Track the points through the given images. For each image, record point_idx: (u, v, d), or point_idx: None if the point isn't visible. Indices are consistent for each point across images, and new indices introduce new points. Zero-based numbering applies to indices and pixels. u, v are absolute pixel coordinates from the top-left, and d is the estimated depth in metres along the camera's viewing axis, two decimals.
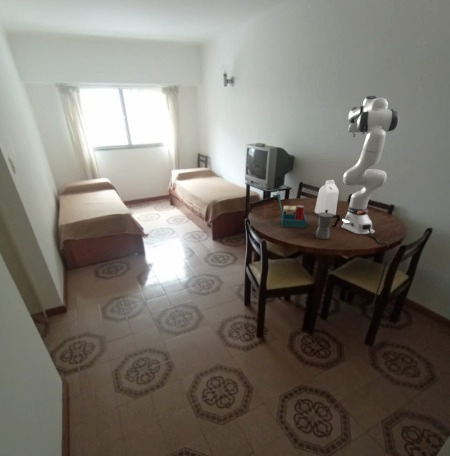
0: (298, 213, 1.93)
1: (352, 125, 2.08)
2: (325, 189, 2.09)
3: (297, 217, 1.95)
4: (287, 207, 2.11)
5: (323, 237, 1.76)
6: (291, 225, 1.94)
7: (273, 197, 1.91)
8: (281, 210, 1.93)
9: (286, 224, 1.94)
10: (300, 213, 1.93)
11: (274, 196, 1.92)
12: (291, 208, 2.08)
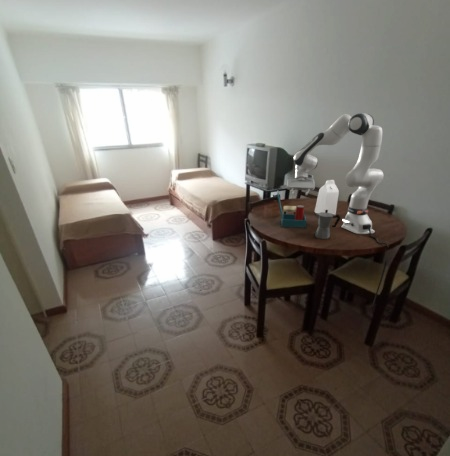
0: (298, 213, 1.93)
1: (290, 180, 2.03)
2: (325, 189, 2.09)
3: (297, 217, 1.95)
4: (287, 207, 2.11)
5: (323, 237, 1.76)
6: (291, 225, 1.94)
7: (273, 197, 1.91)
8: (281, 210, 1.93)
9: (286, 224, 1.94)
10: (300, 213, 1.93)
11: (274, 196, 1.92)
12: (291, 208, 2.08)
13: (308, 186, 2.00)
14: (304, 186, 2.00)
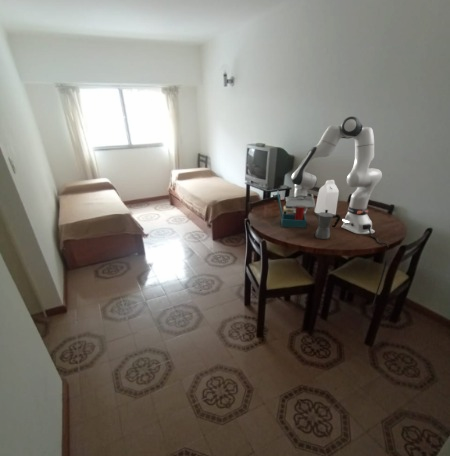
0: (298, 213, 1.93)
1: (289, 199, 1.97)
2: (325, 189, 2.09)
3: (297, 217, 1.95)
4: None
5: (323, 237, 1.76)
6: (291, 225, 1.94)
7: (273, 197, 1.91)
8: (281, 210, 1.93)
9: (286, 224, 1.94)
10: (300, 213, 1.93)
11: (274, 196, 1.92)
12: None
13: (308, 205, 1.94)
14: (303, 205, 1.94)
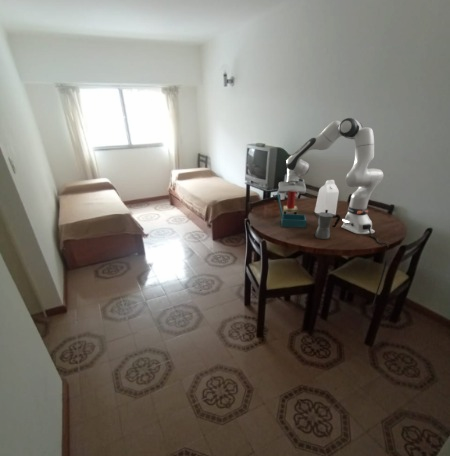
0: (290, 196, 2.04)
1: (281, 184, 2.08)
2: (325, 189, 2.09)
3: (289, 201, 2.06)
4: None
5: (323, 237, 1.76)
6: (291, 225, 1.94)
7: (273, 197, 1.91)
8: (281, 210, 1.93)
9: (286, 224, 1.94)
10: (292, 197, 2.03)
11: (274, 196, 1.92)
12: None
13: (299, 190, 2.05)
14: None
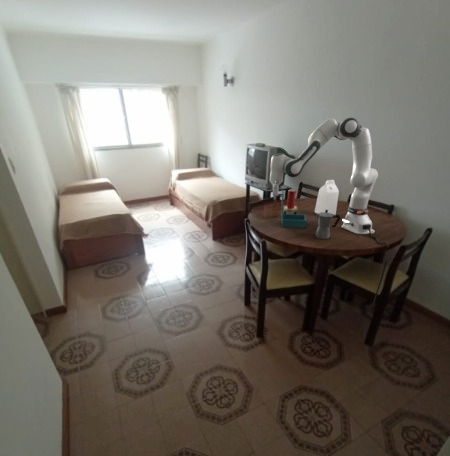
0: (290, 196, 2.04)
1: (278, 187, 1.81)
2: (325, 189, 2.09)
3: (289, 201, 2.06)
4: None
5: (323, 237, 1.76)
6: (291, 225, 1.94)
7: None
8: None
9: (286, 224, 1.94)
10: (292, 197, 2.03)
11: (278, 195, 1.91)
12: None
13: None
14: None
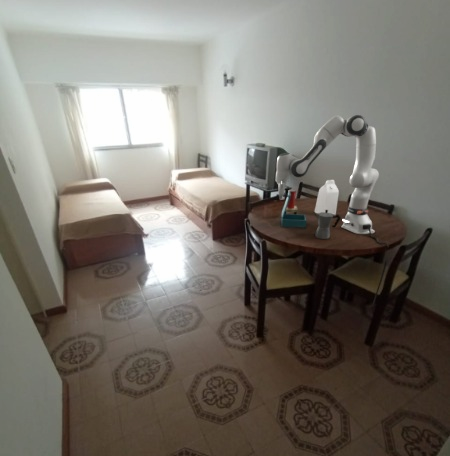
0: None
1: (284, 186, 1.81)
2: (325, 189, 2.09)
3: (289, 201, 2.06)
4: None
5: (323, 237, 1.76)
6: (291, 225, 1.94)
7: (284, 195, 1.89)
8: (285, 210, 1.93)
9: (286, 224, 1.94)
10: (292, 197, 2.03)
11: (285, 194, 1.90)
12: None
13: None
14: None
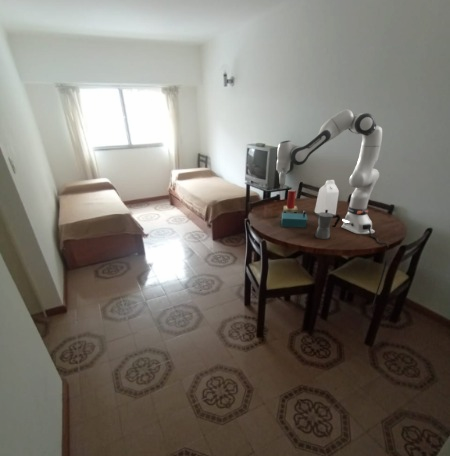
0: (290, 196, 2.04)
1: (285, 175, 1.77)
2: (325, 189, 2.09)
3: (289, 201, 2.06)
4: None
5: (323, 237, 1.76)
6: (291, 225, 1.94)
7: (304, 213, 1.92)
8: None
9: (286, 224, 1.94)
10: (292, 197, 2.03)
11: (304, 213, 1.95)
12: None
13: None
14: None
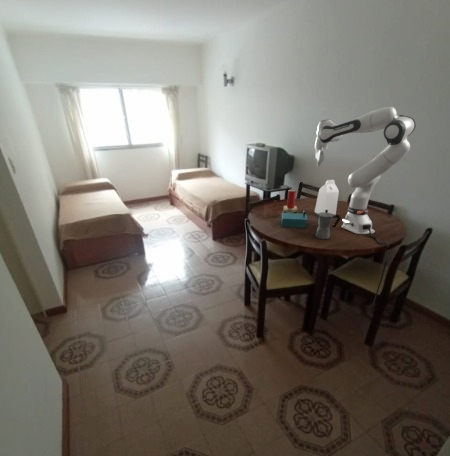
0: (290, 196, 2.04)
1: (324, 152, 1.86)
2: (325, 189, 2.09)
3: (289, 201, 2.06)
4: None
5: (323, 237, 1.76)
6: (291, 225, 1.94)
7: (304, 213, 1.92)
8: None
9: (286, 224, 1.94)
10: (292, 197, 2.03)
11: (304, 213, 1.95)
12: None
13: None
14: None
